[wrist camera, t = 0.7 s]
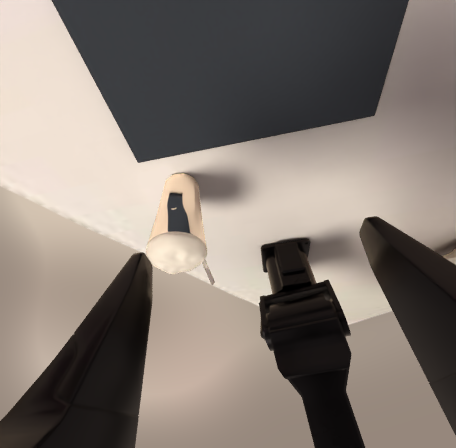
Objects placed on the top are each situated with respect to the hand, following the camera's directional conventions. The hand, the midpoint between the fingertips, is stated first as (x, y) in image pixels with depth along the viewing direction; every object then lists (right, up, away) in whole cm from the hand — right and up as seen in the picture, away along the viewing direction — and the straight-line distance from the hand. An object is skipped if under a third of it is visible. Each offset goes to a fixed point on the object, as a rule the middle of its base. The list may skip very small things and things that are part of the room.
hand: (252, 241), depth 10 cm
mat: (0, +12, +6) cm, 13 cm away
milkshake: (-5, +4, +14) cm, 16 cm away
